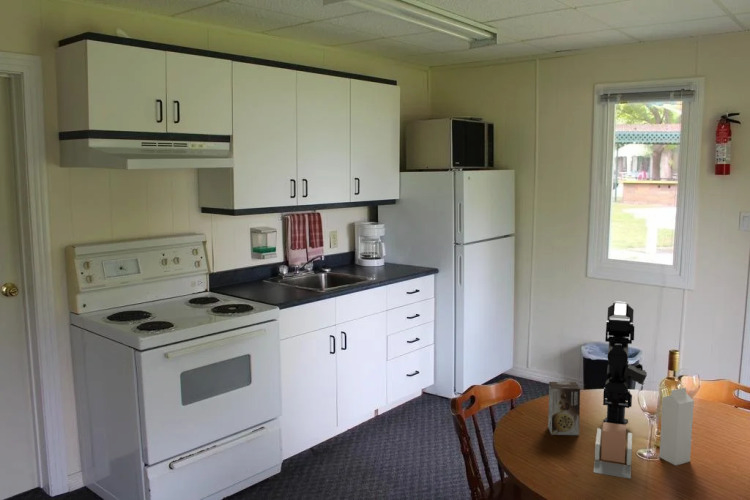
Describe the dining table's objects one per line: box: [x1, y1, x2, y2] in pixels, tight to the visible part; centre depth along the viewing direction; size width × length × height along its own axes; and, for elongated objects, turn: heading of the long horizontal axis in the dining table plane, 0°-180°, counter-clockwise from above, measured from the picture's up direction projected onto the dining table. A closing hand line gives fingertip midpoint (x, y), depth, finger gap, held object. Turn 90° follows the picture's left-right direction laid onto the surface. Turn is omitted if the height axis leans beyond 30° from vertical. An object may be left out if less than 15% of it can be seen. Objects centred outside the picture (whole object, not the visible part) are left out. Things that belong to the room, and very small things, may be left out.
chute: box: [593, 427, 633, 480], centre depth 187 cm, size 20×10×5 cm, turn 158°
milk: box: [658, 387, 695, 466], centre depth 186 cm, size 6×6×22 cm
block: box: [600, 421, 627, 464], centre depth 189 cm, size 7×6×9 cm
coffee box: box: [547, 381, 581, 436], centre depth 207 cm, size 9×6×16 cm
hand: (615, 404), depth 199 cm, fingers open, 6 cm apart
